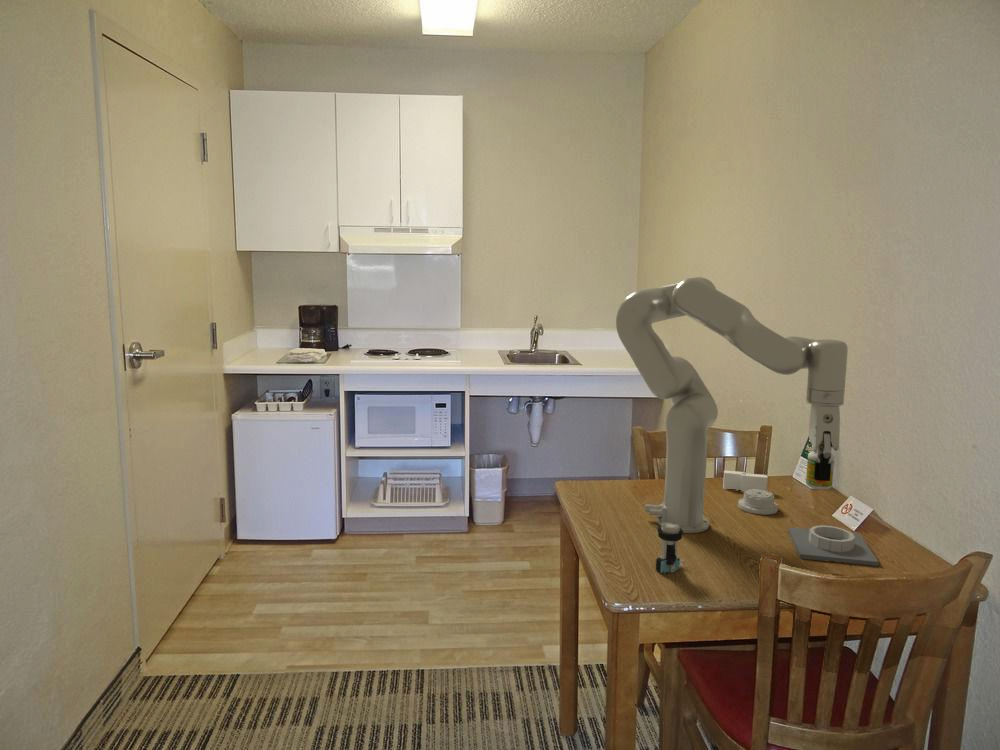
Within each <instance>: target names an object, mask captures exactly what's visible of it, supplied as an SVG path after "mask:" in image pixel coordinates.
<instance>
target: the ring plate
mask: <svg viewBox="0 0 1000 750" xmlns="http://www.w3.org/2000/svg"><path fill="white" fill-rule="evenodd" d="M787 529H788V530H787V532H788V534H789V536H790V539H791V541H792V544H793V545H794V548H795V551H796V553H797V555H798V558H799V559H803V560H811V559H812V561H821V560H828V561H827V562H831V561H837V562H836V563H841V562H843V563H844V564H851V565H852V564H853V565H861V566H862V565H863V566H871V567H872V566H874V567H879V560H878V559H877V557H876V556H875V554H874V553H873V551H872V550H871V547H869V545H868V544H867V542H866V541H865V539H864V538H863V537H862V535H861V533H857V532H856V533H854V532H851V531H848V530H846V529H844V528H841V527H838V526H834V525H825V524H824V525H814V526H812V527H810V528H801V527H791V526H789V527H787ZM843 563H842V564H843Z"/></svg>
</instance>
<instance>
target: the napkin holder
mask: <svg viewBox="0 0 1000 750" xmlns="http://www.w3.org/2000/svg"><path fill="white" fill-rule="evenodd" d="M768 481H769V478H768V475H767V474H758V473H757V474H756V473H746V472H745V471H736V470H735V471H734V470H723V481H722V483H723V484H722V488H723V490H727V489H736V490H735V491H738V490H741V491H744V492H745V490H747V491H748V490H750V489H759V490H765V491H767V492H768V490H767V489H768ZM741 491H740V492H741ZM744 492H743V493H744Z"/></svg>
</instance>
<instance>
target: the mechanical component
mask: <svg viewBox="0 0 1000 750" xmlns="http://www.w3.org/2000/svg"><path fill="white" fill-rule="evenodd" d="M737 502H738V503H737V506H738V508H739V509H740V510H741V511H744V512H746V513H751V514H754V515H760V516H761V515H762V516H764V515H766V516H767V515H773V514H776V513H778V512H777V511H779V504H777V503H776V502H775V495H774V493H772V491H768V490H767V491H765V490H759V489H750V490H748V491H747V490H745V492H743V497H742V498H740V499H738V501H737Z"/></svg>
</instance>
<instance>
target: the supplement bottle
mask: <svg viewBox="0 0 1000 750" xmlns="http://www.w3.org/2000/svg"><path fill="white" fill-rule="evenodd" d="M820 448H822V449H824V448H823V446H820ZM811 449H812V450H813V451H812V452H811V451H810V452H808V455H807V463H806V464H807V465H806V473H805V474H806V477H805V484H806V485H807V487H809V488H812V489H817V490H829V489H831V488H832V487H833V479H834V478H833V477H834V465H835V456H834V454H832V453H831V474H830V481H821V480H815V479H814V470H815V462H817V449H816V448H814V446H813V445H812V444H811ZM832 449H833V448H832V446H831V451H832ZM821 453H823V452H820V454H821Z"/></svg>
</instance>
